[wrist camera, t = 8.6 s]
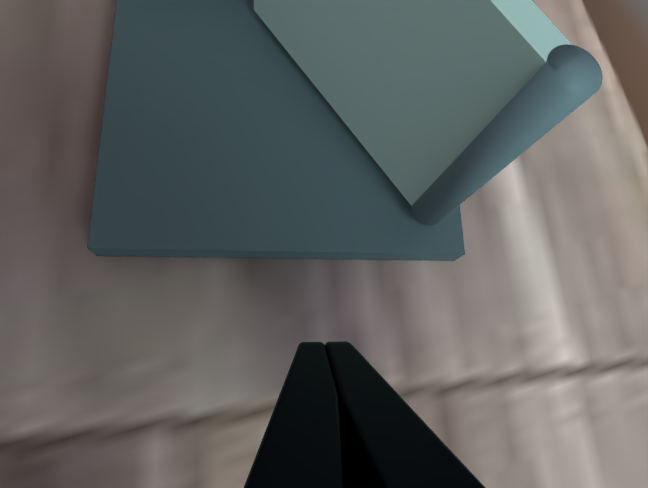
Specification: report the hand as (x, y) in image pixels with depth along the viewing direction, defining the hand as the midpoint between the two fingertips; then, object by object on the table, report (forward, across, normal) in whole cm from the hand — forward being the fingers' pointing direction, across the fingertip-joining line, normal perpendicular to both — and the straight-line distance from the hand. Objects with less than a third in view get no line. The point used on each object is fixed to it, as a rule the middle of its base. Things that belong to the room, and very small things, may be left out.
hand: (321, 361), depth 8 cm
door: (+12, -2, -2) cm, 12 cm away
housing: (+13, 0, -1) cm, 13 cm away
